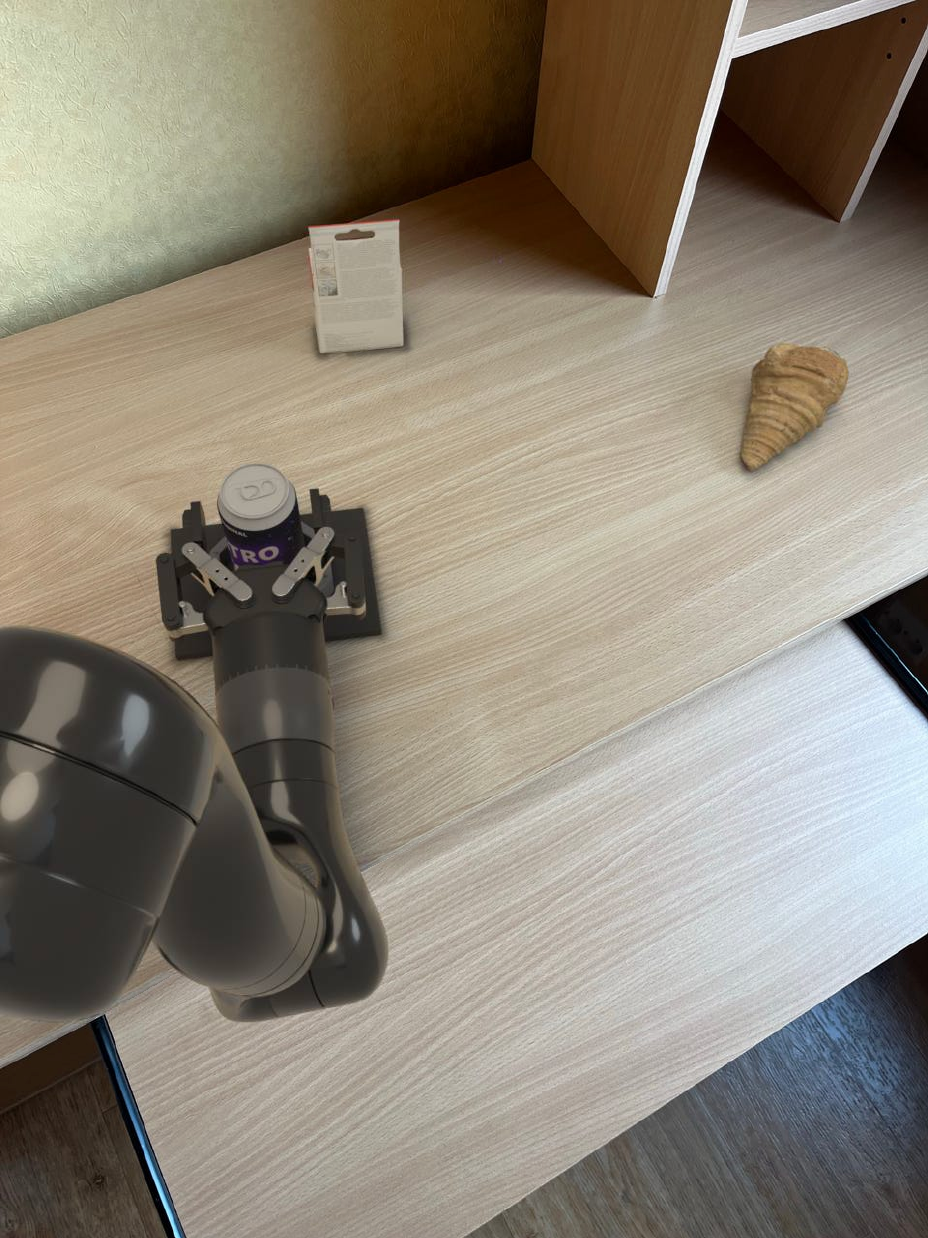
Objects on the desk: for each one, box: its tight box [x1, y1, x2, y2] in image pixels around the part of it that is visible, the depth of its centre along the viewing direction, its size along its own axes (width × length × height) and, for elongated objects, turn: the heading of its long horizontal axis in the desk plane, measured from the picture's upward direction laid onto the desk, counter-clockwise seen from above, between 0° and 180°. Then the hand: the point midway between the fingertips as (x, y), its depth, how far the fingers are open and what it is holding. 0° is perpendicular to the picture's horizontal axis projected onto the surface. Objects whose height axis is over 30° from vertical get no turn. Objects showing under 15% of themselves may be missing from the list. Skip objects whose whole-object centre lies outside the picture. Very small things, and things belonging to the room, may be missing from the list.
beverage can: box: [216, 462, 305, 570], centre depth 80 cm, size 6×6×12 cm
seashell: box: [739, 342, 850, 472], centre depth 94 cm, size 14×8×8 cm
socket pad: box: [170, 507, 382, 661], centre depth 85 cm, size 16×12×3 cm
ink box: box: [307, 219, 405, 355], centre depth 94 cm, size 4×8×15 cm, turn 99°
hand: (256, 501), depth 78 cm, fingers open, 8 cm apart
